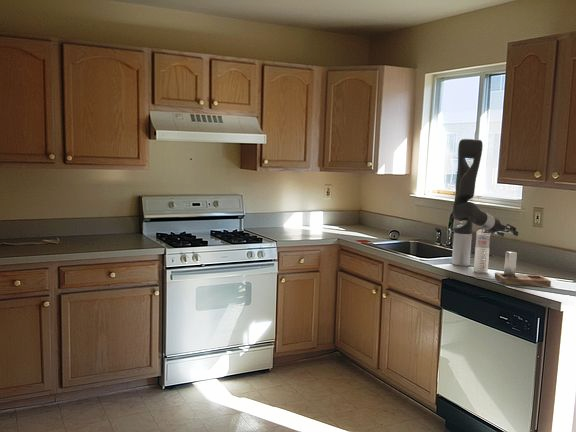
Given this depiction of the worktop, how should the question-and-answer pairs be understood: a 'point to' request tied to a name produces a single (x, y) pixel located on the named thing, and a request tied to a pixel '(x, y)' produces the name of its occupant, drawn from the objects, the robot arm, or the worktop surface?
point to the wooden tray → (523, 279)
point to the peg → (510, 264)
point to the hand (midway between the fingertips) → (510, 234)
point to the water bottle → (481, 251)
